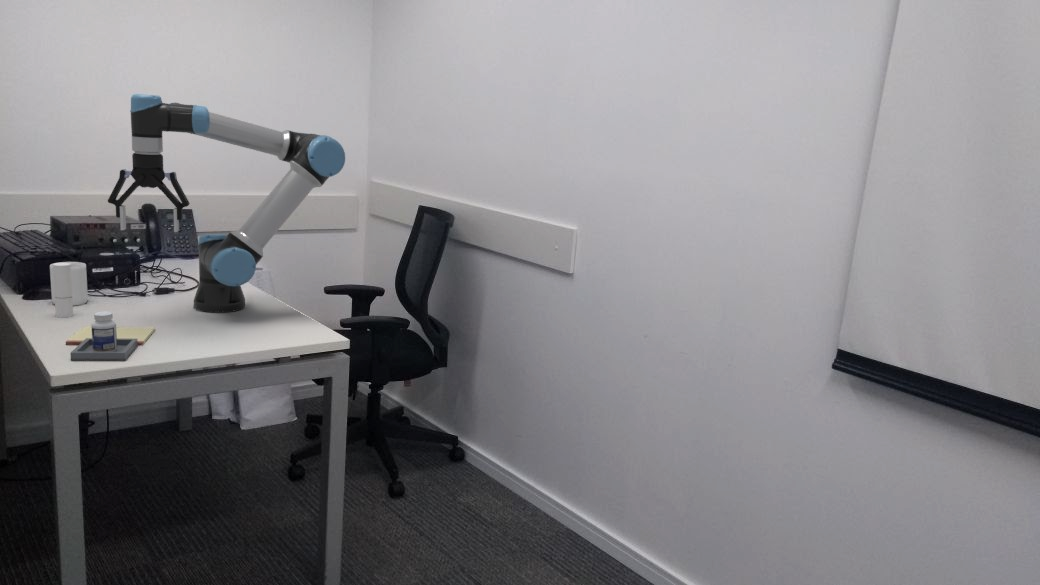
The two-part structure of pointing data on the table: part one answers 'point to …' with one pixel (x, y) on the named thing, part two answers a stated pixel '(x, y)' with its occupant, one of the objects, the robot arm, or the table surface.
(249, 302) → the table surface
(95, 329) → the pill bottle
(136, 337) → the notepad
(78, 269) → the mug
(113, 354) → the tray
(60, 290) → the tube
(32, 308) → the table surface
